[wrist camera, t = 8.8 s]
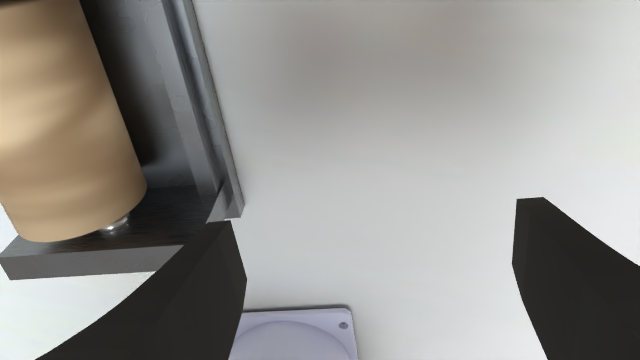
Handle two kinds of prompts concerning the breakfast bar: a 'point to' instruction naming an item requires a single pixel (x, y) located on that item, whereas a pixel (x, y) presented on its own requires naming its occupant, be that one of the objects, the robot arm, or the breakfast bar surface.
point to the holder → (149, 145)
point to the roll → (60, 126)
